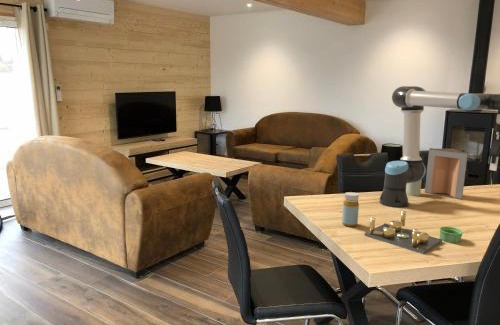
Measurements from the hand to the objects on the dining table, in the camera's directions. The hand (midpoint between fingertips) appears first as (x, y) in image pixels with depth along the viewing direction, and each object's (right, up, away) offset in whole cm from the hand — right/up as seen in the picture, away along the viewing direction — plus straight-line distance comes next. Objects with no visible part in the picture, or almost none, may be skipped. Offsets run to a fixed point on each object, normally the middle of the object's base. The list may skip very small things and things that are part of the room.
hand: (498, 168), depth 186 cm
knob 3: (-49, -30, -25) cm, 63 cm away
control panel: (-52, -30, -17) cm, 63 cm away
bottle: (-71, -27, -1) cm, 76 cm away
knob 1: (-61, -28, -17) cm, 69 cm away
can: (-18, -17, +55) cm, 60 cm away
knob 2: (-51, -27, -8) cm, 58 cm away
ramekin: (-32, -31, -17) cm, 47 cm away
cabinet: (+1, -17, +54) cm, 57 cm away
